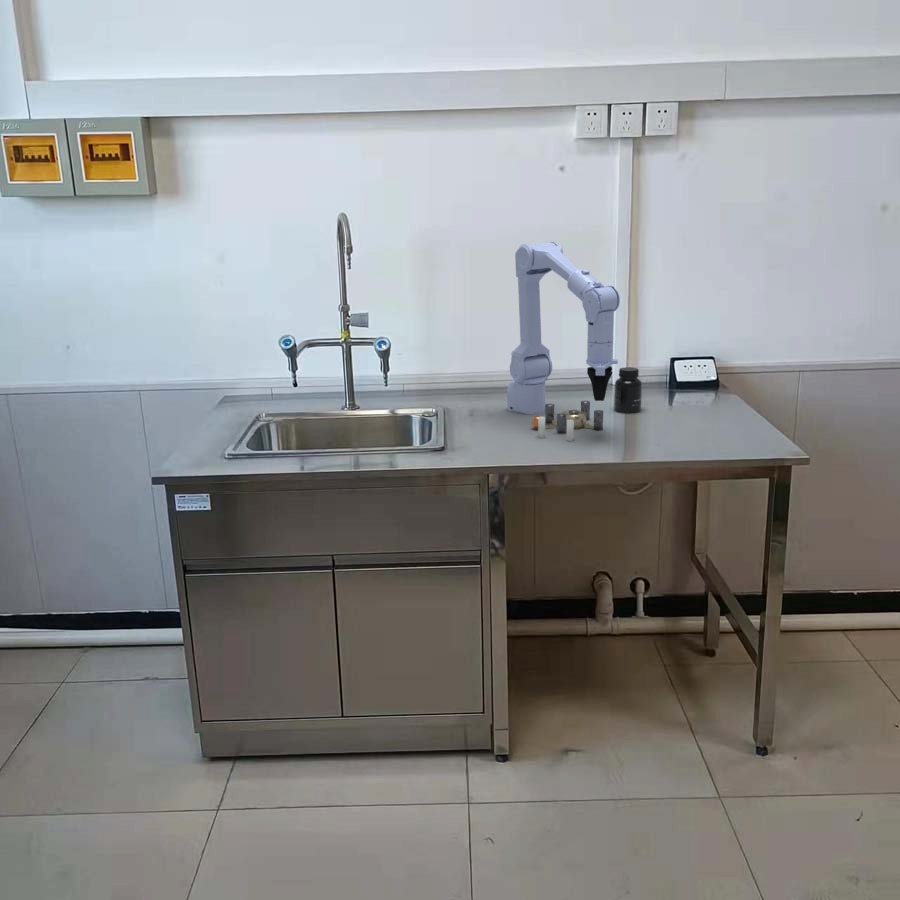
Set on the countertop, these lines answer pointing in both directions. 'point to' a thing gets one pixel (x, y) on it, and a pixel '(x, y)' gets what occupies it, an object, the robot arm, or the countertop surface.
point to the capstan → (574, 415)
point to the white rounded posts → (569, 428)
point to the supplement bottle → (628, 391)
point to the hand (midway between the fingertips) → (599, 399)
